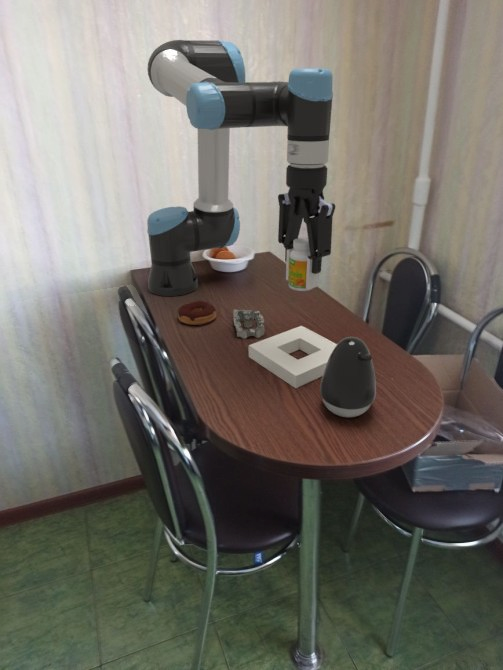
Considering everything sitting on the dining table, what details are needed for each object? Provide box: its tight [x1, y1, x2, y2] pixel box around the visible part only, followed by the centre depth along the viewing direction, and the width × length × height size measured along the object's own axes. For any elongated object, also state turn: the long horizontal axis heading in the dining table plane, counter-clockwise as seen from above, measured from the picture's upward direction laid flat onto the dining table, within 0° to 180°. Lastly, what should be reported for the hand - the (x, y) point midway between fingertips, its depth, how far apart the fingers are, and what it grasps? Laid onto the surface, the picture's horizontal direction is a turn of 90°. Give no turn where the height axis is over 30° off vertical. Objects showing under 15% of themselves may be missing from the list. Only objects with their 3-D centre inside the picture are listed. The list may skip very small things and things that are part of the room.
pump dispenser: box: [319, 336, 377, 418], centre depth 87 cm, size 10×10×15 cm
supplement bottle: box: [288, 237, 313, 292], centre depth 96 cm, size 5×5×10 cm
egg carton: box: [233, 308, 265, 339], centre depth 120 cm, size 11×8×4 cm
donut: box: [177, 300, 217, 326], centre depth 125 cm, size 10×10×4 cm
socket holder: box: [248, 325, 338, 389], centre depth 106 cm, size 16×16×3 cm
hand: (301, 282), depth 98 cm, fingers closed on supplement bottle, 5 cm apart
